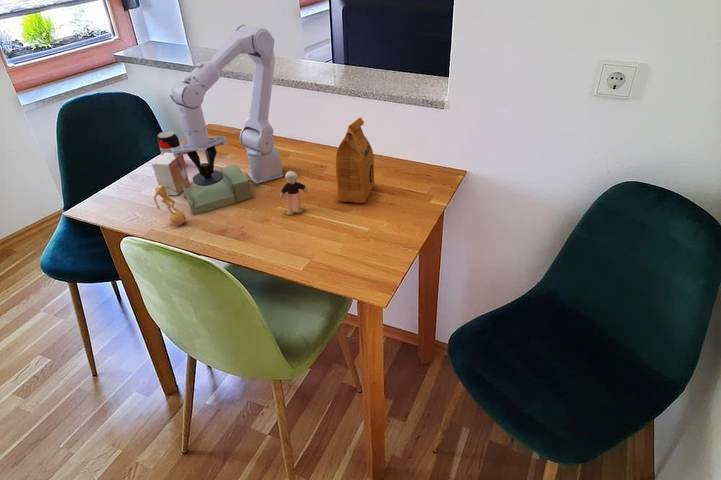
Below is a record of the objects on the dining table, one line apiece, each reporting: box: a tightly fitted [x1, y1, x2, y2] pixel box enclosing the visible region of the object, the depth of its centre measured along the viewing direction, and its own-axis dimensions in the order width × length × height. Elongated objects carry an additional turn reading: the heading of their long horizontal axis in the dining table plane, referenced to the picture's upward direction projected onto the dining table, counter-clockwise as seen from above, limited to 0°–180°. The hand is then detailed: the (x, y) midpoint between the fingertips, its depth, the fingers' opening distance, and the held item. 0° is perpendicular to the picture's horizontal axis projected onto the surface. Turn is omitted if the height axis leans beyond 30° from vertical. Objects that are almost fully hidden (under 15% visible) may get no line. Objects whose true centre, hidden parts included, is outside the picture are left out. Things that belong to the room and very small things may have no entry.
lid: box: [192, 162, 223, 186], centre depth 135 cm, size 8×8×4 cm
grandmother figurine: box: [279, 170, 308, 216], centre depth 132 cm, size 8×4×13 cm, turn 117°
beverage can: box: [157, 130, 186, 165], centre depth 157 cm, size 6×6×12 cm
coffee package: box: [335, 117, 375, 204], centre depth 135 cm, size 10×12×22 cm
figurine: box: [153, 185, 186, 226], centre depth 129 cm, size 8×6×12 cm
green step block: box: [182, 163, 253, 215], centre depth 142 cm, size 17×12×6 cm
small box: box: [151, 152, 190, 196], centre depth 145 cm, size 8×6×10 cm
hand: (206, 173), depth 136 cm, fingers closed on lid, 2 cm apart
